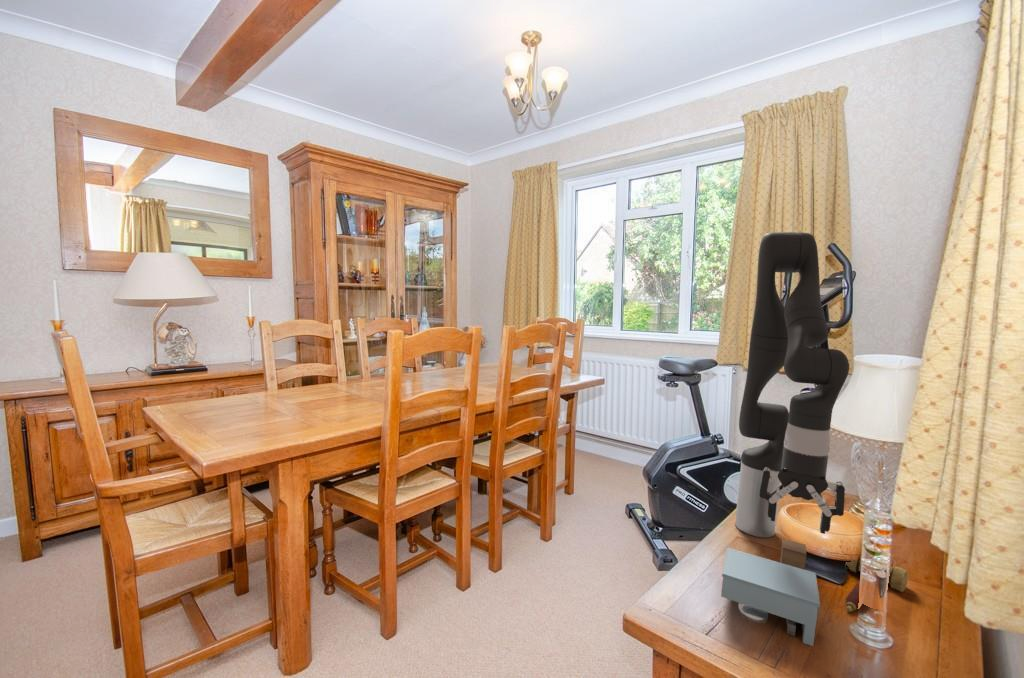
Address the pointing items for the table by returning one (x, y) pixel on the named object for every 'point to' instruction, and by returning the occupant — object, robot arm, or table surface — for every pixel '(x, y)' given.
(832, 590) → the table surface
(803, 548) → the wood grain block
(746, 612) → the silver metal disc
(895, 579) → the gavel
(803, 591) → the plinth shelf
